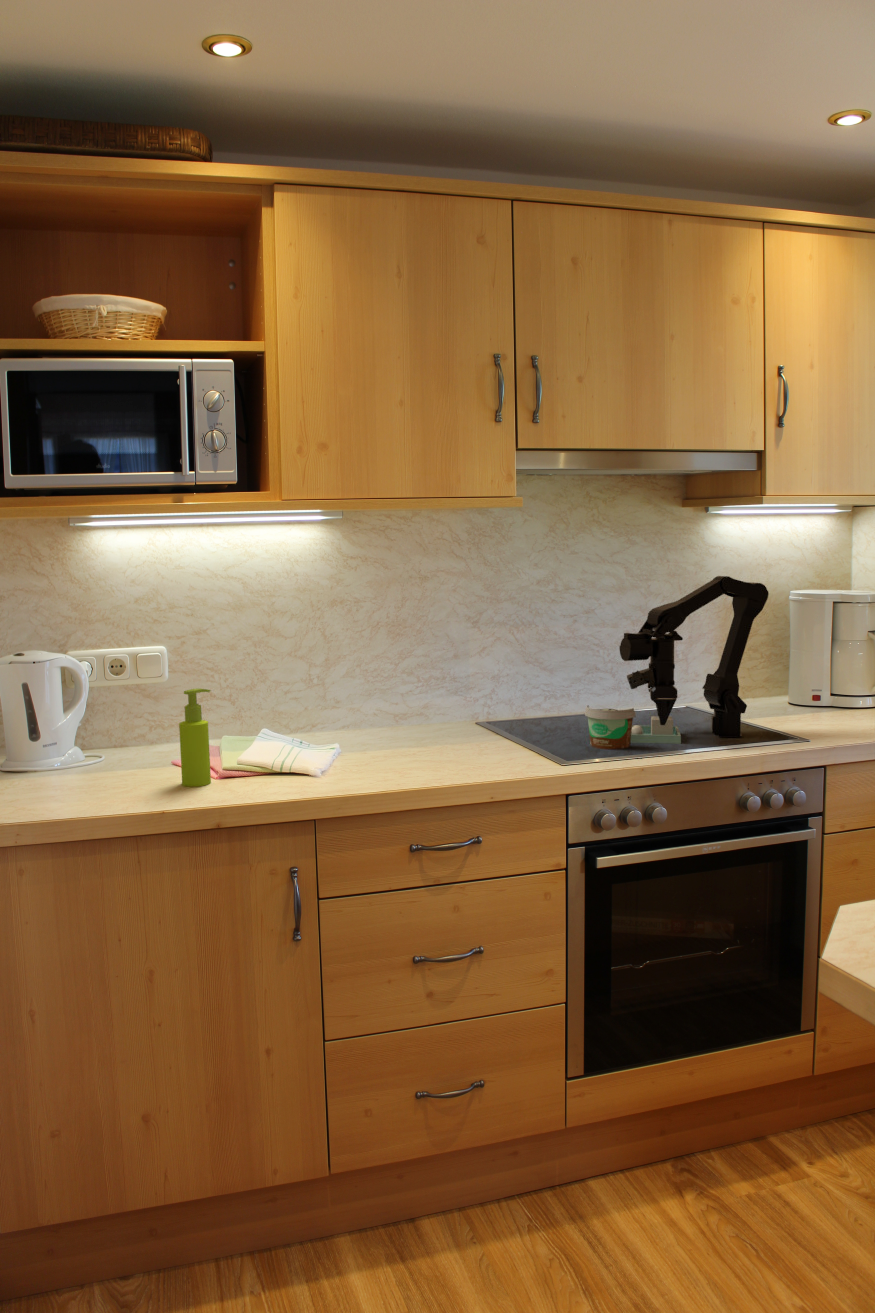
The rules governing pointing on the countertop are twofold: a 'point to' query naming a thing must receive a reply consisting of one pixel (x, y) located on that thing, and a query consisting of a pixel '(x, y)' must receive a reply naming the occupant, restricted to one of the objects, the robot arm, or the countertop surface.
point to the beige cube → (661, 726)
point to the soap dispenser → (194, 744)
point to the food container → (610, 727)
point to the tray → (656, 737)
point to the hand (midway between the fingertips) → (661, 721)
